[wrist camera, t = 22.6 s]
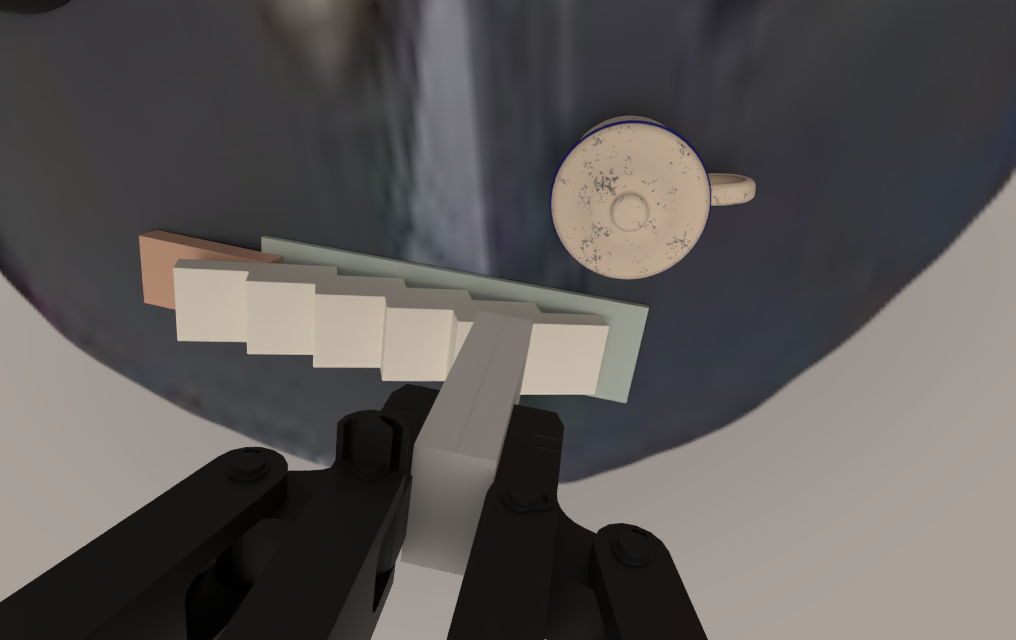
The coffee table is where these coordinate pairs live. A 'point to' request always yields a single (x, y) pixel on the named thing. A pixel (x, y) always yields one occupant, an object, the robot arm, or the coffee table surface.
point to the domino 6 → (549, 350)
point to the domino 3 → (290, 309)
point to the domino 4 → (358, 321)
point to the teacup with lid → (636, 198)
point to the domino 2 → (220, 296)
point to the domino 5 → (426, 334)
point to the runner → (617, 314)
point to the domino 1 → (169, 247)
